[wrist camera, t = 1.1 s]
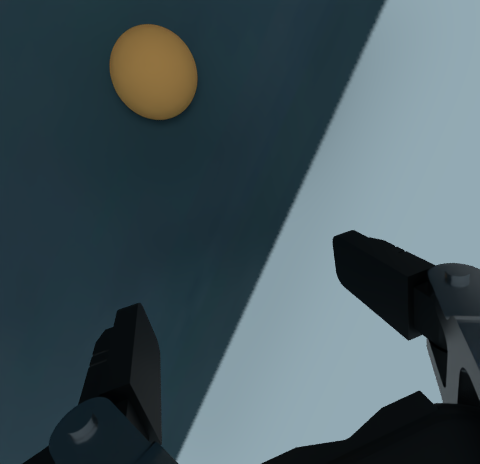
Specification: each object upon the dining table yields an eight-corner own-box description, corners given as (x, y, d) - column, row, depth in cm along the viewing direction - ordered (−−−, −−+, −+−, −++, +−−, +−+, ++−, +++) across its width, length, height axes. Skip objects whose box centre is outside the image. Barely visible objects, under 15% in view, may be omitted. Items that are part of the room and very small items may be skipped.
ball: (131, 128, 25) (125, 128, 19) (102, 46, 22) (86, 19, 17) (200, 111, 26) (213, 106, 20) (179, 31, 23) (188, 1, 18)
